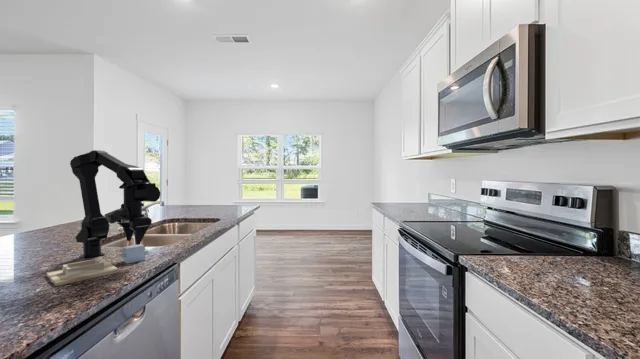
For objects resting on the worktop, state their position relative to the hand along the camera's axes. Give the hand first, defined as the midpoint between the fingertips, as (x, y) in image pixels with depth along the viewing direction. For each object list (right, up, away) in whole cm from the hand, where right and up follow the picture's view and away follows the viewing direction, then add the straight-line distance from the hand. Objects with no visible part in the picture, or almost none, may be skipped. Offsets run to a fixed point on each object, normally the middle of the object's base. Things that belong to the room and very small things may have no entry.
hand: (133, 242), depth 113 cm
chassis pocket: (-7, -7, -15) cm, 18 cm away
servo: (0, -7, 0) cm, 7 cm away
